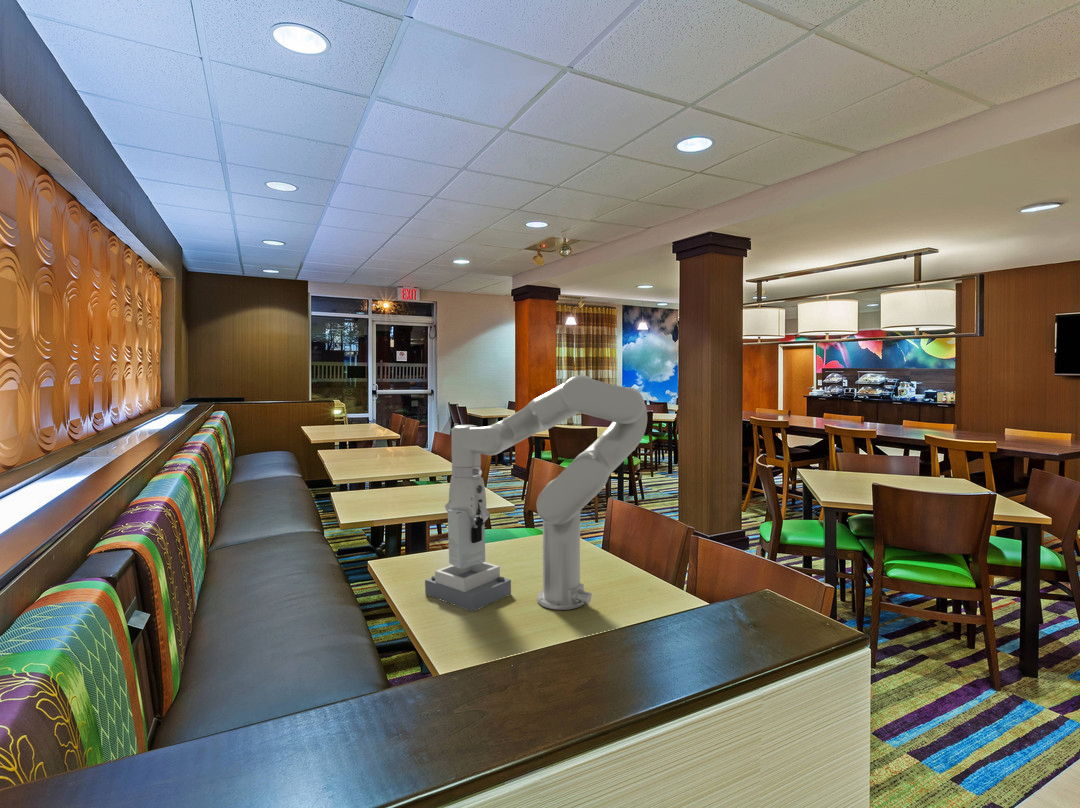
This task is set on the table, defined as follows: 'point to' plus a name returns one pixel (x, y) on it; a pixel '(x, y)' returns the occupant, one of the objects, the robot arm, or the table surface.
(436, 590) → the grey box holder
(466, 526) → the skincare box
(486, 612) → the table surface
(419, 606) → the table surface
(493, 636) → the table surface
